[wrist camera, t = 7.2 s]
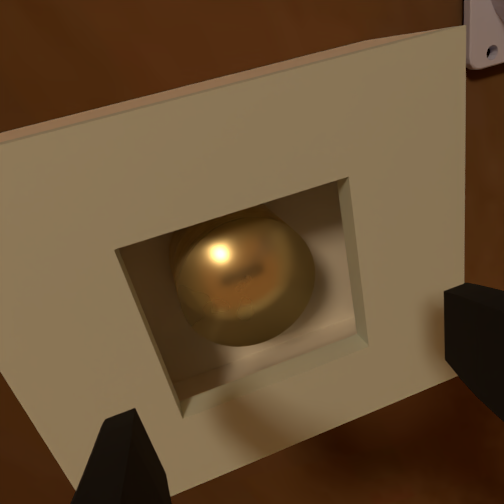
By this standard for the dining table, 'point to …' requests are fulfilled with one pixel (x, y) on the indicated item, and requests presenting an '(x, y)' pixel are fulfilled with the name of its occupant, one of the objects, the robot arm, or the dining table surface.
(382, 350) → the beige square holder
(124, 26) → the dining table surface
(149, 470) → the robot arm
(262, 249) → the gold rounded piece
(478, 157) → the dining table surface
